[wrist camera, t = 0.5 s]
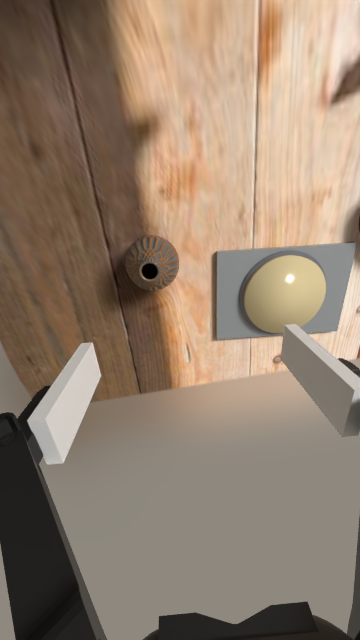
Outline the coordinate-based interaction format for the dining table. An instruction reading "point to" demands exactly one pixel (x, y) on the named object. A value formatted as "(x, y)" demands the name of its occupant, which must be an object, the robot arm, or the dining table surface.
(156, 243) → the vase
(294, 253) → the board
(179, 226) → the dining table surface
